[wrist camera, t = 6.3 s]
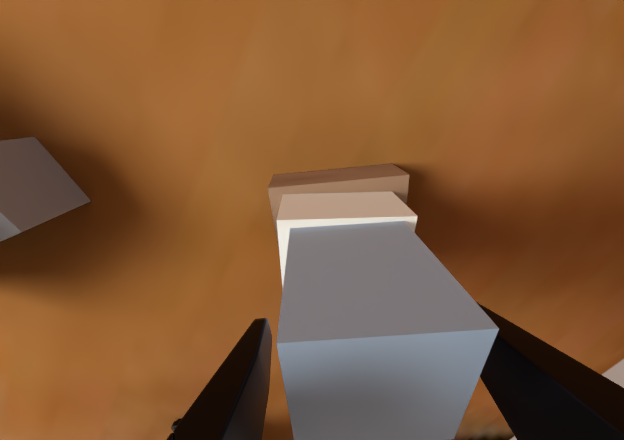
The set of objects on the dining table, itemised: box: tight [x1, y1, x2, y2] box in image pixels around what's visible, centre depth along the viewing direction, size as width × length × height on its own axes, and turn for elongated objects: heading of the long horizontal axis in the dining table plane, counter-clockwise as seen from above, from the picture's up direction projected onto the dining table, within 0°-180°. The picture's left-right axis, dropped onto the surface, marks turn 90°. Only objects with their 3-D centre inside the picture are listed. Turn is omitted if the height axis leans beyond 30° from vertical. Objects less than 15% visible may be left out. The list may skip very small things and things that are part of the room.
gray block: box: [277, 221, 499, 440], centre depth 8 cm, size 4×4×5 cm
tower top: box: [276, 191, 418, 286], centre depth 12 cm, size 6×6×3 cm
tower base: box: [268, 164, 409, 254], centre depth 14 cm, size 7×7×3 cm
